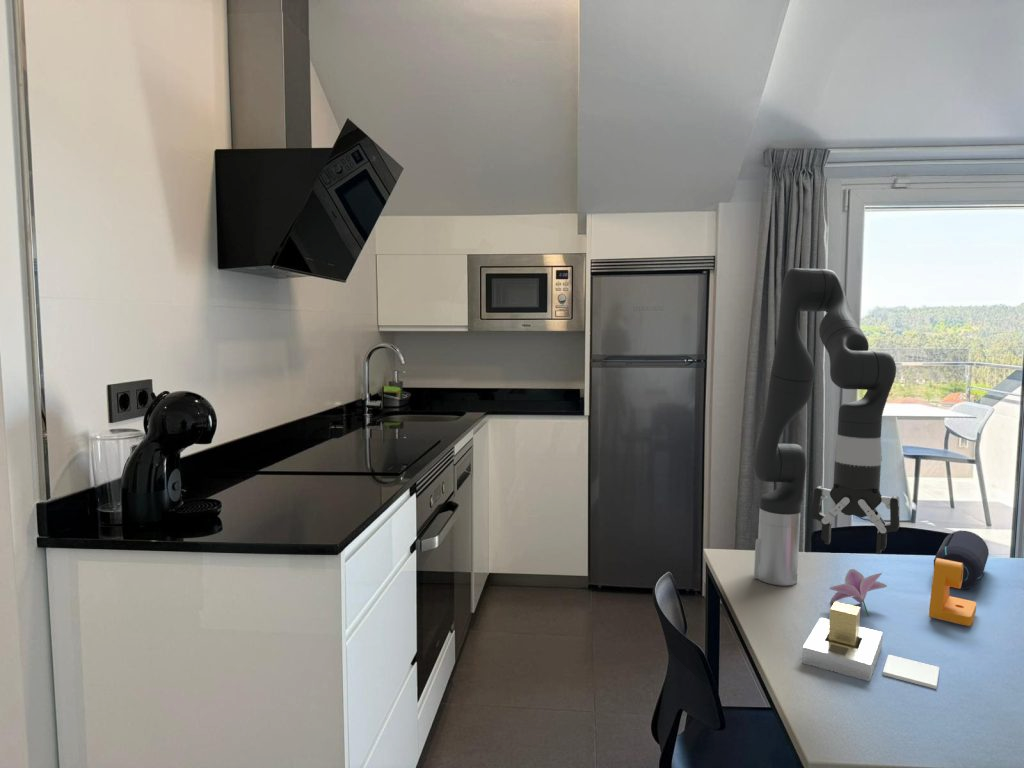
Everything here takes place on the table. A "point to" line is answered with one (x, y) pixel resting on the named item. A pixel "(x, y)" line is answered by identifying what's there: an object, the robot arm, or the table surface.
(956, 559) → the portable speaker
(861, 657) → the socket block
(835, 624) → the brass peg
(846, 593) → the lily
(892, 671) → the pad
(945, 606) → the bracket
